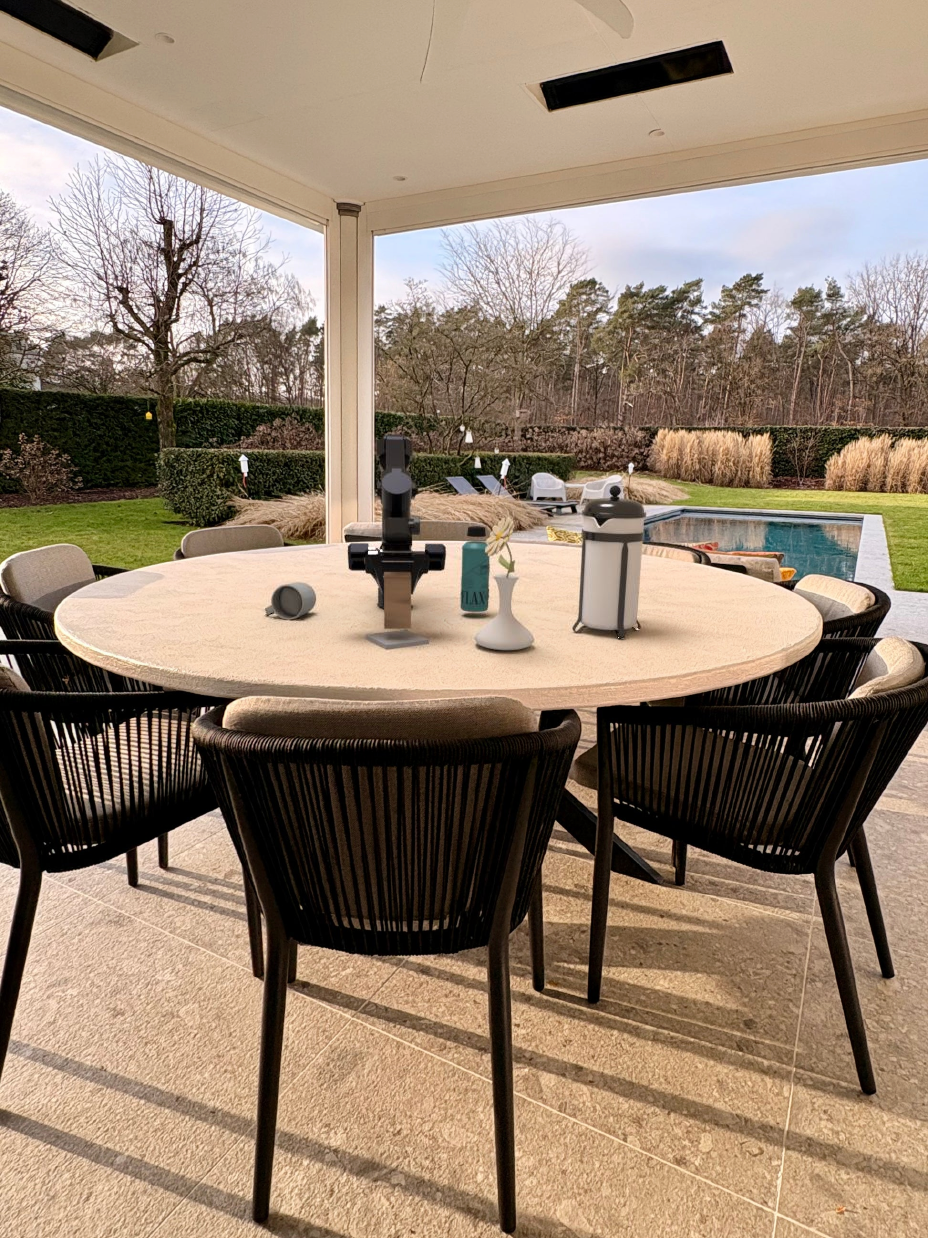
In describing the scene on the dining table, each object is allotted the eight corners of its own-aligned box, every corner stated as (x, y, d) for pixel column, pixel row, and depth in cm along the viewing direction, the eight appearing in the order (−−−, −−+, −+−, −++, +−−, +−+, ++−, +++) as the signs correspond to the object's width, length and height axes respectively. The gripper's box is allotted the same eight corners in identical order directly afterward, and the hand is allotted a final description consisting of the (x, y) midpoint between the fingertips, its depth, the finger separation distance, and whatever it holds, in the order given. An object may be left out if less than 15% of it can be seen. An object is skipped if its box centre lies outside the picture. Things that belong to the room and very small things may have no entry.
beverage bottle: (455, 617, 173) (456, 526, 168) (466, 611, 179) (468, 524, 174) (482, 620, 170) (485, 528, 166) (493, 614, 176) (495, 525, 172)
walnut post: (384, 622, 151) (384, 571, 149) (410, 622, 152) (410, 571, 150) (384, 628, 147) (384, 576, 144) (410, 628, 147) (411, 576, 145)
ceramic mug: (319, 613, 174) (317, 579, 173) (304, 621, 166) (302, 585, 165) (275, 611, 176) (273, 577, 175) (258, 618, 168) (256, 583, 167)
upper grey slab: (406, 634, 156) (406, 629, 156) (428, 644, 148) (428, 639, 148) (365, 639, 151) (365, 634, 151) (386, 650, 144) (386, 645, 144)
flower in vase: (474, 639, 154) (477, 511, 148) (532, 640, 153) (537, 513, 148) (473, 657, 141) (476, 518, 135) (536, 658, 141) (542, 519, 135)
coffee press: (659, 639, 157) (671, 487, 150) (583, 640, 154) (591, 487, 147) (628, 619, 173) (637, 483, 167) (558, 621, 171) (565, 482, 164)
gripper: (347, 500, 147) (345, 568, 139) (446, 501, 149) (450, 568, 141) (349, 537, 156) (348, 602, 148) (442, 537, 158) (445, 602, 150)
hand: (397, 593), depth 146 cm, fingers closed on walnut post, 5 cm apart
